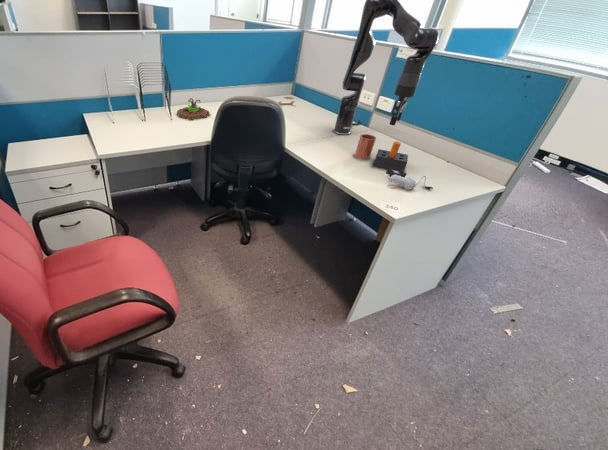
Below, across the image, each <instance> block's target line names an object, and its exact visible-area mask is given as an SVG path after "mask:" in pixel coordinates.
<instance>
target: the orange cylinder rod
mask: <svg viewBox="0 0 608 450" xmlns="http://www.w3.org/2000/svg"><path fill="white" fill-rule="evenodd" d="M401 145H402V142H400V141H393V143H392V146H391V149H390V150H389V151H390V154H389V157H391V158H396V155H397V153H399V150H400V146H401Z"/></svg>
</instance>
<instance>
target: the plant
mask: <svg viewBox="0 0 608 450" xmlns="http://www.w3.org/2000/svg"><path fill="white" fill-rule="evenodd" d="M187 102H188V104H186V106H185V107H182V108H179V109H178V110H177V111H176V113H177V116H178V117H179V118H181V119H185V120H189V121H194V120H200V119H205V118H208V116H210V111H209V110H208V109H206V108H203V107H201V106H199V104H197V102H198V103H202V101H201V100H200V99H196V100H195V101H194V99H193V98H191V97H189V99H188V100H187ZM189 103H191V104H189Z"/></svg>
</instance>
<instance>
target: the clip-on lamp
mask: <svg viewBox="0 0 608 450" xmlns="http://www.w3.org/2000/svg"><path fill="white" fill-rule="evenodd" d="M385 174H386V175H388V176H387V180H390V182H391V183H393V184H397V185H399V186H401V187H402V188H403V189H405V190H408V191H411V190H412V189H414V188H416V186H417V185H419V183H420V182H421V181H422V180H423V178H424V180H423V186H424V188H425V189H426V190H434V187H433V186H426V180H427V177H426V175H423V176H422V177H421V178H420V179H419V181H418V182H417V183H416V179H414V178H413V177H406V176H407V174H408V173H407V172H405V170H404V171H401V172H399V171H396V170H392V169H388V170H387V169H386V171H385Z"/></svg>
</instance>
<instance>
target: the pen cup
mask: <svg viewBox="0 0 608 450" xmlns="http://www.w3.org/2000/svg"><path fill="white" fill-rule="evenodd" d="M376 141H377V137H376V136H375V135H372V134H369V133H368V134H367V133H364V134H361V135H360V136H359V139H358V142H357V145H356V148H355V149H356V150H355V152H354V158H356V159H359V160H365V161H366V160H369V159H370V158H371V155H372V152H373V149H374V147H375V143H376Z"/></svg>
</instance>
